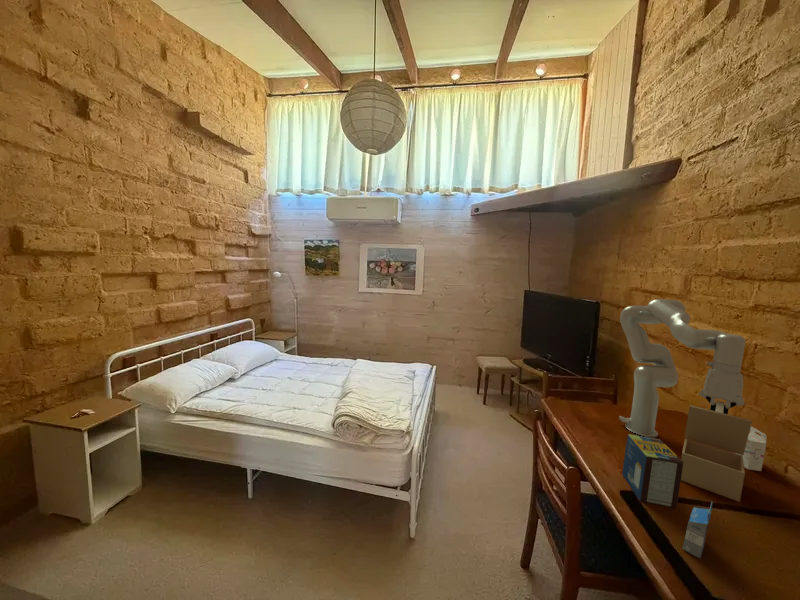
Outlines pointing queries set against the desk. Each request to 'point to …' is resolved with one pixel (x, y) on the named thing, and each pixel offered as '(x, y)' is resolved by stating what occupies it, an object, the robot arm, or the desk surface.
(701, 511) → the label tape box
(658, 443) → the protein box
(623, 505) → the desk surface
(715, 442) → the carton flap
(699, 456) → the carton
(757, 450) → the ink cartridge box
